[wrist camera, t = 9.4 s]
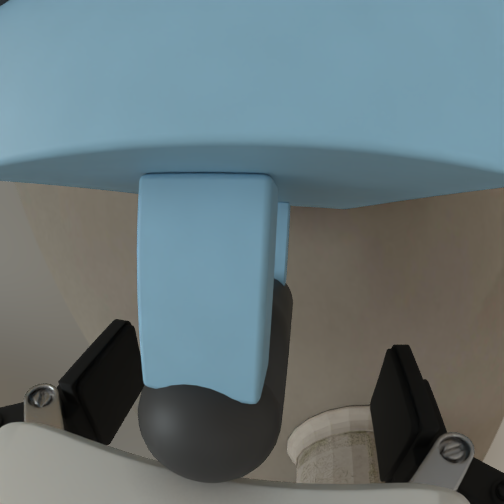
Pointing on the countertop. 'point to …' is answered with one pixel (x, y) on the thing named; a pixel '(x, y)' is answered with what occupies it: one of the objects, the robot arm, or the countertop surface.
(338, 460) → the mug
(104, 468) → the robot arm
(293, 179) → the stamp
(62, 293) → the countertop surface
